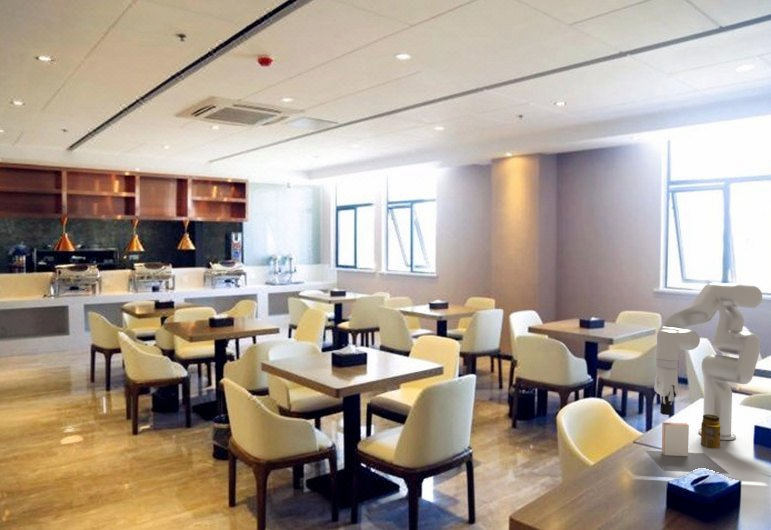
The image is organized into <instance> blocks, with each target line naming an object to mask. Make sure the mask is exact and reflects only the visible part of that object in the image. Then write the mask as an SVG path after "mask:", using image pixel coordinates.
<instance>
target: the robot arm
mask: <svg viewBox="0 0 771 530" xmlns="http://www.w3.org/2000/svg"><path fill="white" fill-rule="evenodd" d="M762 301H763V293H762V290H761V289H760V288H759V287H757V286H755V285H745V284H738V283H724V282H710V283H707V284H706V285H705V286H704V287H703V288H702V290H701V291H700V292H699V294H698V295H696V297H695V298H694V300H693V301H692V303H691V304H690V305H689V306H688V307H685V308H683V309H681V310H678V311H676V312H675V313H673V314H671V315H670V316H669V317H667V318H666V319H665V320H664V321H663V322H662V324H661V325H660V327H659V329H658V331H657V333H656V353H655V354H656V355H655V356H656V358H655V359H656V360H655V367H656V370H655V376H654V385H653V386H654V387H653V388H654V389H653V390H654V392H656V393H657V394H658V395H659V397H660V398H659V400H660V407H659V408H660V409H659V412H660V414H661V415H663V416H665V415H666V416H671V415H672V404H673V402H674V401H675V398H676V397H677V396H678V390H679V384H678V383H679V378H678V370H680V352H681V350H684V351H693V350H695V349H696V348H698V346H699V345H700V342H701V340H700V339H701V338H700V335H699V334H698V333H697V332H696V331H694V330H691V329H686V327H690V326H695V325H700V324H701V325H702V324H704V323H708V322H710V321H712V320H713V317H714V316H715V314H716V313H717V312H718V314H719V316H718V323H717V326H716V330H715V332H714V337H713V341H712V346H713V349H714V350H715V351H717V352H719V353H721V354H726V355H721V354H708V355H706V356H705V357H704V358H703V359H702V362H701V371H702V372H701V373H702V376H703V377H702V378H703V415H706V414H710V415H715V416H718V417H719V424H720V441H731V440H735V439H736V438H737V436H736V433H735V432H733V431H732V412H733V411H732V410H733V409H732V407H733V390H732V388H731V386H730V384H729V383H733V384H738V385H747V384H749V383H750V382H751V381H752V379H753V377H754V374H755V370H756V367H757V363H758V359H759V356H760V352H761V339H760V338H759V336H758V335H757V334H756V333H753V332H750V331H743V330H744V329H743V328H744V323H745V318H744V316H743V314H742V312H741V311H740V309H739V308H750V309H753V308H757V307H758V306H759V305H761V303H762ZM727 354H728V355H733V356H738V357H732V356H727ZM698 433H699V434H700V435H701V427H699V428H698Z"/></svg>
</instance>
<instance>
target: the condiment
mask: <svg viewBox="0 0 771 530" xmlns="http://www.w3.org/2000/svg"><path fill="white" fill-rule="evenodd" d="M700 424H701V427H700V428H701V434H700V445H701V446H702V447H704V448H707V449H719V448H721V440H720V424H719V417H718V416H715V415H710V414H706V415H703V416H702V422H701V423H700Z"/></svg>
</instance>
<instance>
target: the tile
mask: <svg viewBox="0 0 771 530" xmlns="http://www.w3.org/2000/svg"><path fill="white" fill-rule="evenodd" d="M689 427H690V425H689V424H688V423H687V422H686V423H682V422H662V427H661V428H662V430H661V435H662V436H661V451H662V454H663V455H668V456H688V452H689V434H690V432H689V431H690V430H689Z"/></svg>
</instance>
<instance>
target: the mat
mask: <svg viewBox="0 0 771 530" xmlns="http://www.w3.org/2000/svg"><path fill="white" fill-rule="evenodd" d="M645 452H646V453H647V455H649V456H650V457H651V459H653V461H654V462H655V463H656V464H657V465H658V466H659V467H660V468H661V469H662V470H663V471H666V472H668V471H669V472H683V473H684V472H685V473H686V472H687V473H692V472H691V471H693V470H695V469H698V468H706V469H709V470H713V471H715V472H719V473H718V474H728V475H729V474H730V473H729V472H728V471H727V470H725V469H724V468H723V467H722V466H721V465H720V464H718V463H717V462H716V461H714V460H713V458H711V457H710V456H709V455H708V454H706V453H705V452H689V451H688V456H668V455H663V454H662V450H661V451H660V450H645Z"/></svg>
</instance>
